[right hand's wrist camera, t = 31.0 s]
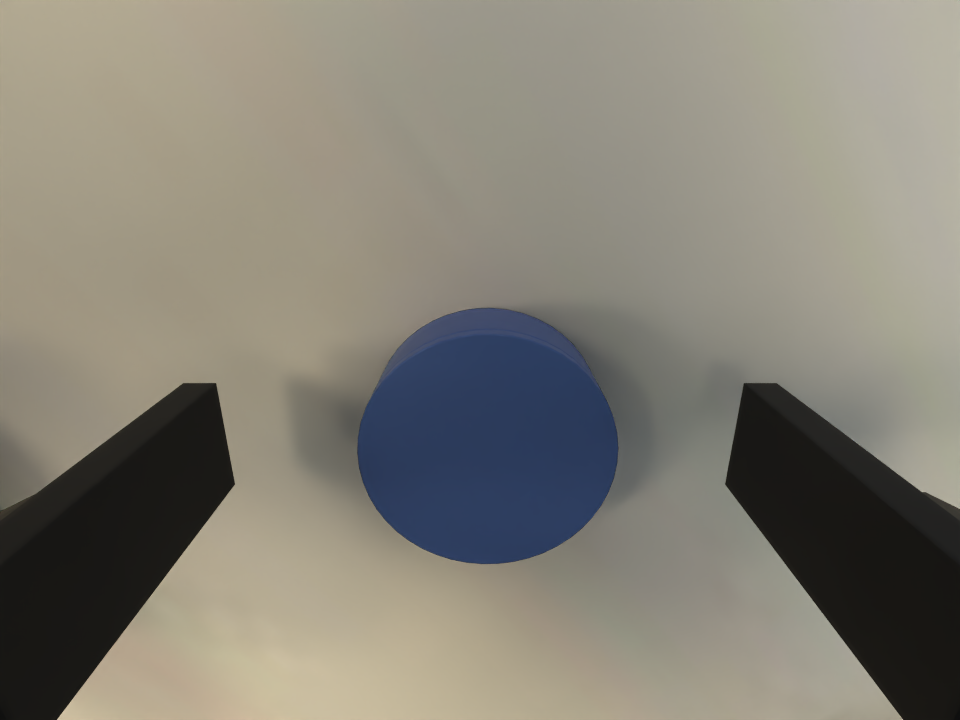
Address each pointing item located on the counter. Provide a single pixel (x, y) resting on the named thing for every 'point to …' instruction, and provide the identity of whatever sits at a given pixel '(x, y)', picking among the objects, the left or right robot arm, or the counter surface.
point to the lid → (487, 438)
